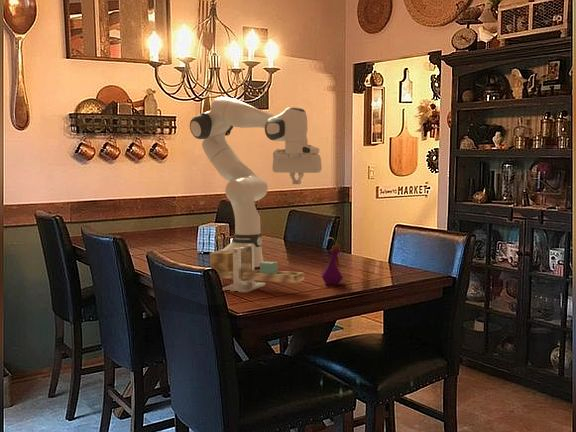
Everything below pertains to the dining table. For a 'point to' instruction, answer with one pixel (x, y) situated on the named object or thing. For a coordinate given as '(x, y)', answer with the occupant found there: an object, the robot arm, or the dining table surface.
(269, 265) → the block
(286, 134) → the robot arm
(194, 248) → the dining table surface
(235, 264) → the stand
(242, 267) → the beam
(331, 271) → the purple vase
